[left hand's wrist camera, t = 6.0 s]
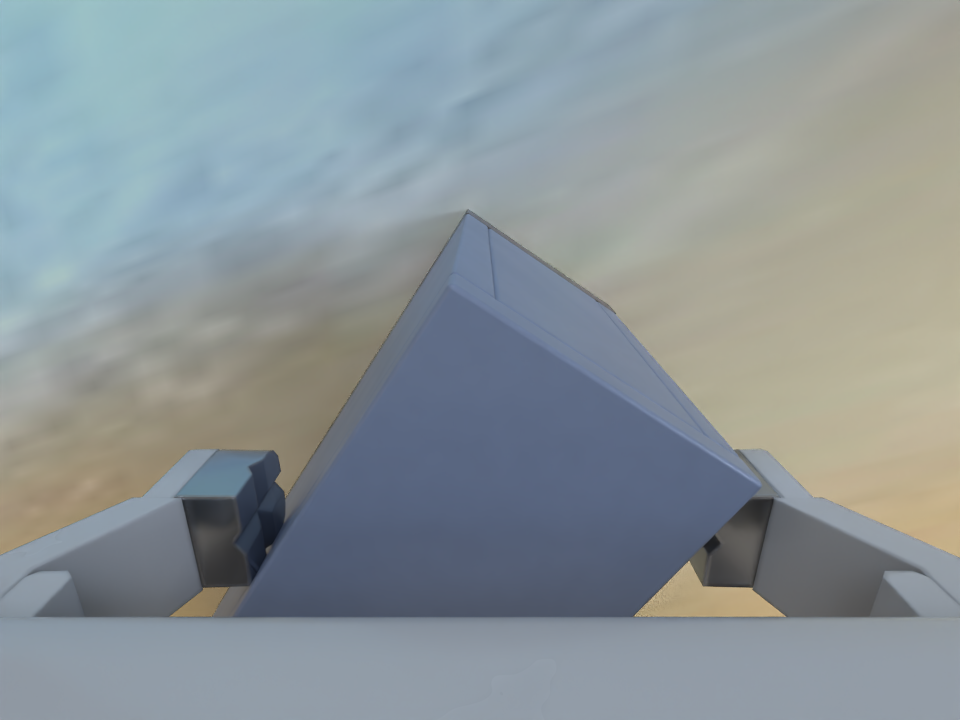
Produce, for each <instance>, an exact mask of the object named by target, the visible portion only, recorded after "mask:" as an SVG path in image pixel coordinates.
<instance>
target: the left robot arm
mask: <svg viewBox="0 0 960 720" xmlns="http://www.w3.org/2000/svg"><path fill="white" fill-rule="evenodd" d="M734 451H735V452H736V453H737V455H738V456H739V458H740V459H741V460H742V461H743V462H744V463H745V464H746V465H747V466H748V467H749V469H750V470H751V471H752V472H753V473H754V474H755V475H756V477H757V478H758V479H759V480H760V482H761V484H762V487H761V489H760V490H759V491H758V492H757V493H756V494H755V495H754V496H753V497H752V498H751V499H750V500H749V501H748V502H747V503H746V504H745V505H744V506H743V507H742V508H741V509H740V510H739V511H738V512H737V513H736V514H735V515H734V516H733V517H732V518H731V519H730V520H729V521H728V522H727V523H726V524H725V525H724V526H723V527H722V528H721V529H720V530H719V531H718V532H717V533H716V534H715V535H714V536H713V537H712V538H711V539H710V540H709V541H708V542H707V543H706V544H705V545H704V546H703V547H702V548H701V549H700V550H699V551H698V552H697V553H696V554H695V555H694V556H693V557H692V558H691V559H690V560H689V561H690V563H691V565H692V566H693V568H694V570H695V572H696V574H697V576H698V578H699V580H700V582H701V583H702V585H703V586H713V587H750V588H753V591H755V592H756V593H757V594H759V595H760V596H761V597H762V598H764V599H765V600H766V601H767V602H769V603H770V604H771V605H772V606H774V607H775V608H776V609H778V610H779V611H780V612H781V613H783V614H784V615H785V616H786V617H169V616H170V615H172V614H173V613H174V612H175V611H177V610H178V609H179V608H180V607H182V606H183V605H184V604H186V603H187V602H188V601H189V600H191V599H192V598H193V597H195V596H196V595H197V594H198V593H200V592H201V591H202V590H203V588H206V587H241V586H250V584H251V583H252V581H253V579H254V577H255V576H256V574H257V572H258V571H259V569H260V566H261V565H262V563H263V561H264V559H265V557H266V555H267V554H266V548H267V547H269V546H270V545H272V544H273V542H274V540H275V539H276V537H277V535H278V533H279V531H280V529H281V528H282V526H283V524H284V519H285V509H286V502H285V495H284V491H283V490H282V489H281V488H280V487H279V486H278V485H277V484H276V482H275V480H276V478H277V476H278V475H279V473H280V472H281V469H280V464H279V459H278V455H277V454H276V453H275V452H274V451H273V450H226V449H222V450H220V449H196V450H189V451H188V452H187V453H186V454H185V455H184V456H183V457H182V458H181V459H180V460H179V461H178V462H177V463H176V464H175V465H174V466H173V467H172V468H171V469H170V470H169V471H168V472H167V473H166V474H165V475H164V476H163V477H162V478H161V479H160V480H159V481H158V482H157V483H156V484H155V485H154V486H153V487H152V488H151V489H150V490H149V491H148V492H147V493H146V494H145V495H144V496H143V497H142V498H131V499H128V500H126V501H124V502H122V503H119V504H117V505H115V506H112V507H110V508H108V509H105V510H103V511H101V512H98V513H96V514H94V515H92V516H89V517H87V518H85V519H82V520H80V521H78V522H75V523H73V524H71V525H68V526H66V527H64V528H62V529H59V530H57V531H55V532H52V533H50V534H48V535H45V536H43V537H41V538H38V539H36V540H34V541H32V542H29V543H27V544H25V545H22V546H20V547H18V548H15V549H13V550H11V551H9V552H6V553H4V554H2V555H0V720H960V558H959V557H957V556H954V555H952V554H950V553H948V552H945V551H943V550H941V549H938V548H936V547H934V546H932V545H929V544H927V543H925V542H923V541H920V540H918V539H916V538H913V537H911V536H909V535H907V534H904V533H902V532H900V531H897V530H895V529H893V528H891V527H888V526H886V525H884V524H881V523H879V522H877V521H875V520H872V519H870V518H868V517H865V516H863V515H861V514H859V513H856V512H854V511H852V510H849V509H847V508H845V507H843V506H840V505H838V504H836V503H833V502H831V501H829V500H827V499H824V498H813V497H812V496H811V495H810V494H809V493H808V491H807V490H806V489H805V488H804V487H803V486H802V485H801V484H800V483H799V482H798V481H797V480H796V479H795V478H794V477H793V476H792V475H791V474H790V473H789V472H788V471H787V470H786V469H785V468H784V467H783V466H782V465H781V464H780V463H779V462H778V461H777V460H776V459H775V458H774V457H773V456H772V455H771V454H770V453H769V452H768V451H766V450H763V449H743V450H734Z"/></svg>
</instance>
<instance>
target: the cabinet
mask: <svg viewBox="0 0 960 720" xmlns="http://www.w3.org/2000/svg"><path fill="white" fill-rule="evenodd" d="M761 487H762V484H761V482H760V480H759V479H758V478H757V477H756V475H755V474H754V473H753V472H752V471H751V470H750V469H749V467H748V466H747V465H746V464H745V463H744V462H743V461H742V460H741V459H740V458H739V456H738V455H737V453H736V452H735V451H734V450H733V449H732V448H731V446H730V445H729V444H728V443H727V442H726V441H725V440H724V438H723V437H722V436H721V435H720V434H719V433H718V432H717V430H716V429H715V428H714V427H713V426H712V425H711V424H710V422H709V421H708V420H707V419H706V418H705V417H704V415H703V414H702V413H701V412H700V411H699V410H698V409H697V407H696V406H695V405H694V404H693V403H692V402H691V401H690V399H689V398H688V397H687V396H686V395H685V394H684V392H683V391H682V390H681V389H680V388H679V387H678V386H677V384H676V383H675V382H674V381H673V380H672V379H671V378H670V376H669V375H668V374H667V373H666V372H665V371H664V369H663V368H662V367H661V366H660V365H659V364H658V363H657V361H656V360H655V359H654V358H653V357H652V356H651V355H650V353H649V352H648V351H647V350H646V349H645V348H644V346H643V345H642V344H641V343H640V342H639V341H638V340H637V338H636V337H635V336H634V335H633V334H632V333H631V332H630V330H629V329H628V328H627V327H626V326H625V325H624V324H623V322H622V321H621V320H620V319H619V318H618V317H617V315H616V313H615V312H614V311H613V310H612V308H611V307H610V306H609V305H608V304H606V303H605V302H603V301H602V300H600V299H599V298H597V297H596V296H594V295H593V294H591V293H590V292H589V291H587V290H586V289H584V288H583V287H581V286H580V285H578V284H577V283H575V282H574V281H572V280H571V279H570V278H568V277H567V276H565V275H564V274H562V273H561V272H559V271H558V270H556V269H555V268H553V267H552V266H550V265H549V264H548V263H546V262H545V261H543V260H542V259H540V258H539V257H537V256H536V255H534V254H533V253H531V252H530V251H528V250H527V249H526V248H524V247H523V246H521V245H520V244H518V243H517V242H515V241H514V240H512V239H511V238H509V237H508V236H507V235H505V234H504V233H502V232H501V231H499V230H498V229H496V228H495V227H493V226H492V225H490V224H489V223H487V222H486V221H485V220H483V219H482V218H480V217H479V216H477V215H476V214H474V213H473V212H471V211H470V210H467V212H466V213H465V215H464V216H463V218H462V220H461V221H460V223H459V224H458V226H457V227H456V229H455V231H454V232H453V234H452V235H451V237H450V239H449V240H448V242H447V243H446V245H445V246H444V248H443V250H442V251H441V253H440V254H439V256H438V258H437V259H436V261H435V262H434V264H433V265H432V267H431V269H430V270H429V272H428V273H427V275H426V276H425V278H424V280H423V281H422V283H421V284H420V286H419V288H418V289H417V291H416V292H415V294H414V295H413V297H412V299H411V300H410V302H409V303H408V305H407V307H406V308H405V310H404V311H403V313H402V314H401V316H400V318H399V319H398V321H397V322H396V324H395V326H394V327H393V329H392V330H391V332H390V333H389V335H388V337H387V338H386V340H385V341H384V343H383V345H382V346H381V348H380V349H379V351H378V352H377V354H376V356H375V357H374V359H373V360H372V362H371V364H370V365H369V367H368V368H367V370H366V371H365V373H364V375H363V376H362V378H361V379H360V381H359V383H358V384H357V386H356V387H355V389H354V390H353V392H352V394H351V395H350V397H349V398H348V400H347V402H346V403H345V405H344V406H343V408H342V409H341V411H340V413H339V414H338V416H337V417H336V419H335V421H334V422H333V424H332V425H331V427H330V428H329V430H328V432H327V433H326V435H325V436H324V438H323V439H322V441H321V443H320V444H319V446H318V447H317V449H316V451H315V452H314V454H313V455H312V457H311V458H310V460H309V462H308V463H307V465H306V466H305V468H304V470H303V471H302V473H301V474H300V476H299V477H298V479H297V481H296V482H295V484H294V485H293V487H292V489H291V490H290V492H289V493H288V495H287V496H286V498H285V502H286V509H285V519H284V524H283V526H282V528H281V529H280V531H279V533H278V535H277V537H276V539H275V540H274V542H273V544H272V545H270V546H269V547H267V548H266V554H267V555H266V557H265V559H264V561H263V563H262V565H261V566H260V569H259V571H258V572H257V574H256V576H255V577H254V579H253V581H252V583H251V584H250V586H241V587H229V588H228V590H227V592H226V593H225V595H224V597H223V598H222V600H221V602H220V604H219V605H218V608H217V609H216V611H215V613H214V614H213V616H212V617H633V616H634V615H635V614H636V613H637V612H638V611H639V610H640V609H641V608H642V607H643V606H644V605H645V604H646V603H647V602H648V601H649V600H650V599H651V598H652V597H653V596H654V595H655V594H656V593H657V592H658V591H659V590H660V589H661V588H662V587H663V586H664V585H665V584H666V583H667V582H668V581H669V580H670V579H671V578H672V577H673V576H674V575H675V574H676V573H677V572H678V571H679V570H680V569H681V568H682V567H683V566H684V565H685V564H686V563H687V562H688V561H689V560H690V559H691V558H692V557H693V556H694V555H695V554H696V553H697V552H698V551H699V550H700V549H701V548H702V547H703V546H704V545H705V544H706V543H707V542H708V541H709V540H710V539H711V538H712V537H713V536H714V535H715V534H716V533H717V532H718V531H719V530H720V529H721V528H722V527H723V526H724V525H725V524H726V523H727V522H728V521H729V520H730V519H731V518H732V517H733V516H734V515H735V514H736V513H737V512H738V511H739V510H740V509H741V508H742V507H743V506H744V505H745V504H746V503H747V502H748V501H749V500H750V499H751V498H752V497H753V496H754V495H755V494H756V493H757V492H758V491H759V490H760V489H761Z"/></svg>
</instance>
